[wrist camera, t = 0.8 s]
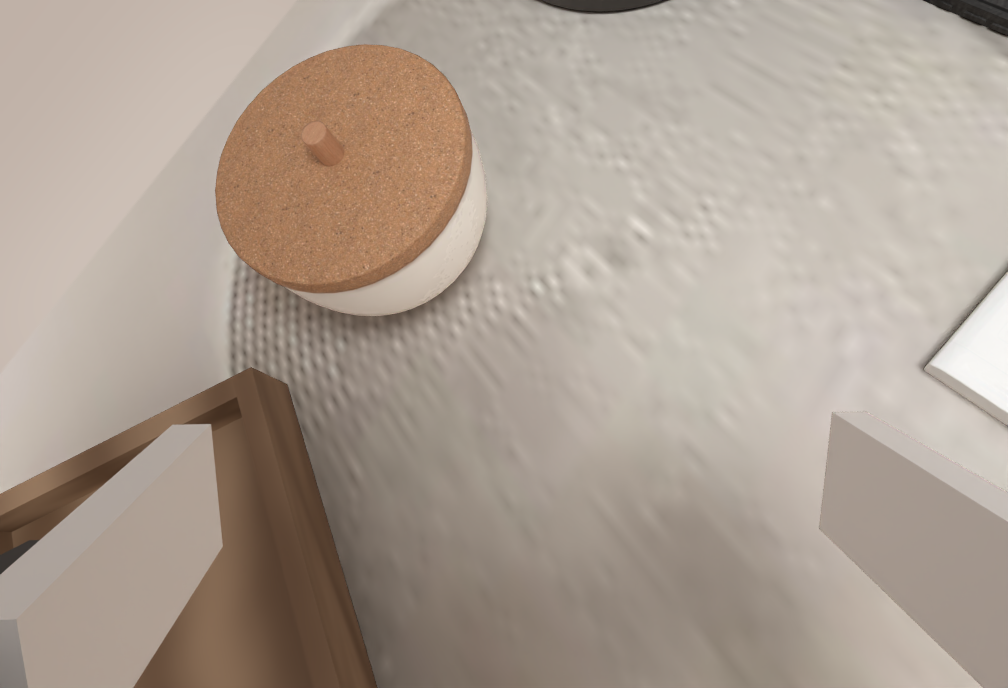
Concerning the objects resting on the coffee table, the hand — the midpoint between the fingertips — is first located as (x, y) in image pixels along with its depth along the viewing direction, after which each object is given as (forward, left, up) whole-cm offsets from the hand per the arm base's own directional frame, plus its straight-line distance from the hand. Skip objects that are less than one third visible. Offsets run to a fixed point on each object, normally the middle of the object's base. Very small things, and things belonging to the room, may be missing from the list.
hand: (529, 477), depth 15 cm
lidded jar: (+3, -16, -15) cm, 22 cm away
